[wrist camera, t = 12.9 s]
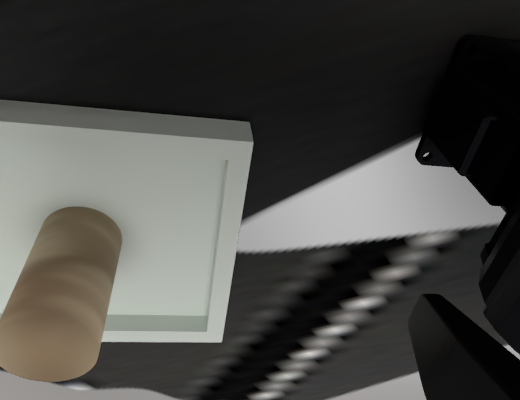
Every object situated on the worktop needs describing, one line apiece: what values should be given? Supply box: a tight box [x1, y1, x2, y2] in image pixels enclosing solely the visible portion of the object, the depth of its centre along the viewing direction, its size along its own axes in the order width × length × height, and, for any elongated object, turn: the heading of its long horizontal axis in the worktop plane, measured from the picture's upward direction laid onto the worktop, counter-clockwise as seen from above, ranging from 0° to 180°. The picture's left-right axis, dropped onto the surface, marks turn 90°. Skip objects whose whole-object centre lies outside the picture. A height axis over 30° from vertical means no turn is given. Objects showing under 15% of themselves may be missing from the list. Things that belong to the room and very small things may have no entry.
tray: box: [0, 100, 254, 342], centre depth 23 cm, size 16×14×2 cm
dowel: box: [0, 206, 122, 382], centre depth 21 cm, size 4×4×7 cm
